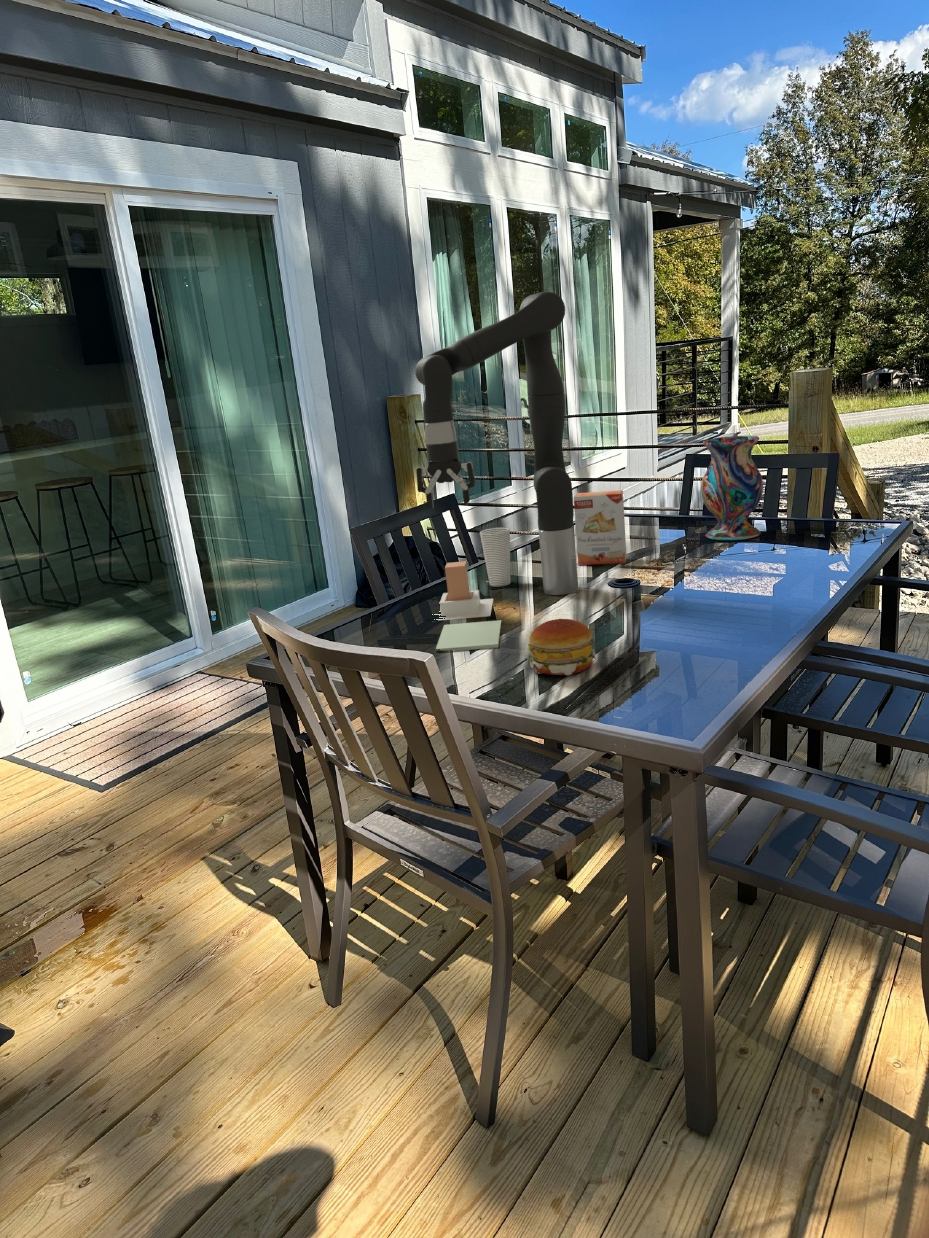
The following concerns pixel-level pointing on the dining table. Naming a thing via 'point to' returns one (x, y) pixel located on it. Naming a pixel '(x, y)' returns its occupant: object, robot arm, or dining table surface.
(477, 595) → the pocket
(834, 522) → the dining table surface
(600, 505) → the cracker box
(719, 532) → the vase
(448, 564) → the part
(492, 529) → the cup
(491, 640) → the mat
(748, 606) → the dining table surface
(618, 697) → the dining table surface
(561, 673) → the burger
